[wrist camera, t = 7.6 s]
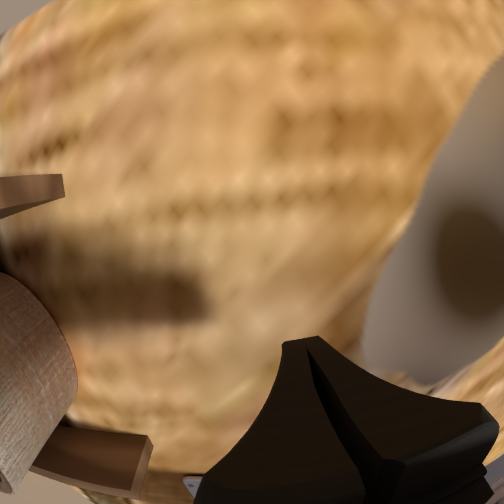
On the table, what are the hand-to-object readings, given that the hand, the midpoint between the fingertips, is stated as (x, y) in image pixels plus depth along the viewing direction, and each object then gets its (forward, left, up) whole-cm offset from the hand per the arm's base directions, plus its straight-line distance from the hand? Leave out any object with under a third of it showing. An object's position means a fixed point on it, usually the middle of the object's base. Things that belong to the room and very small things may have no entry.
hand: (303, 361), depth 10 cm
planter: (-1, +18, -5) cm, 19 cm away
